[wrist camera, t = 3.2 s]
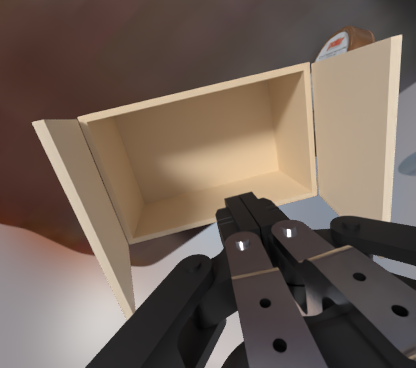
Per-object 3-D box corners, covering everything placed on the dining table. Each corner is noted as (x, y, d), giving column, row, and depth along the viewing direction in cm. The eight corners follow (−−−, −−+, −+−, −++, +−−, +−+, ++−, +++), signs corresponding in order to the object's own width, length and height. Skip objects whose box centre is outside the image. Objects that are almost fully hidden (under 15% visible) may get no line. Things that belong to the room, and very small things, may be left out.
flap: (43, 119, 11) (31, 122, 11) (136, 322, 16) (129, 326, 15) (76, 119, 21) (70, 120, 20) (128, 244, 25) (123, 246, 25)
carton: (269, 74, 31) (309, 61, 22) (281, 171, 36) (317, 195, 26) (108, 112, 30) (77, 116, 21) (142, 206, 35) (129, 244, 26)
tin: (297, 150, 35) (331, 164, 27) (278, 145, 34) (308, 158, 27) (338, 42, 31) (394, 20, 23) (318, 34, 30) (367, 9, 22)
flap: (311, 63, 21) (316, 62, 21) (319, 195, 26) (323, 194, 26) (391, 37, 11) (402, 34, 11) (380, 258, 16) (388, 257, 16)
